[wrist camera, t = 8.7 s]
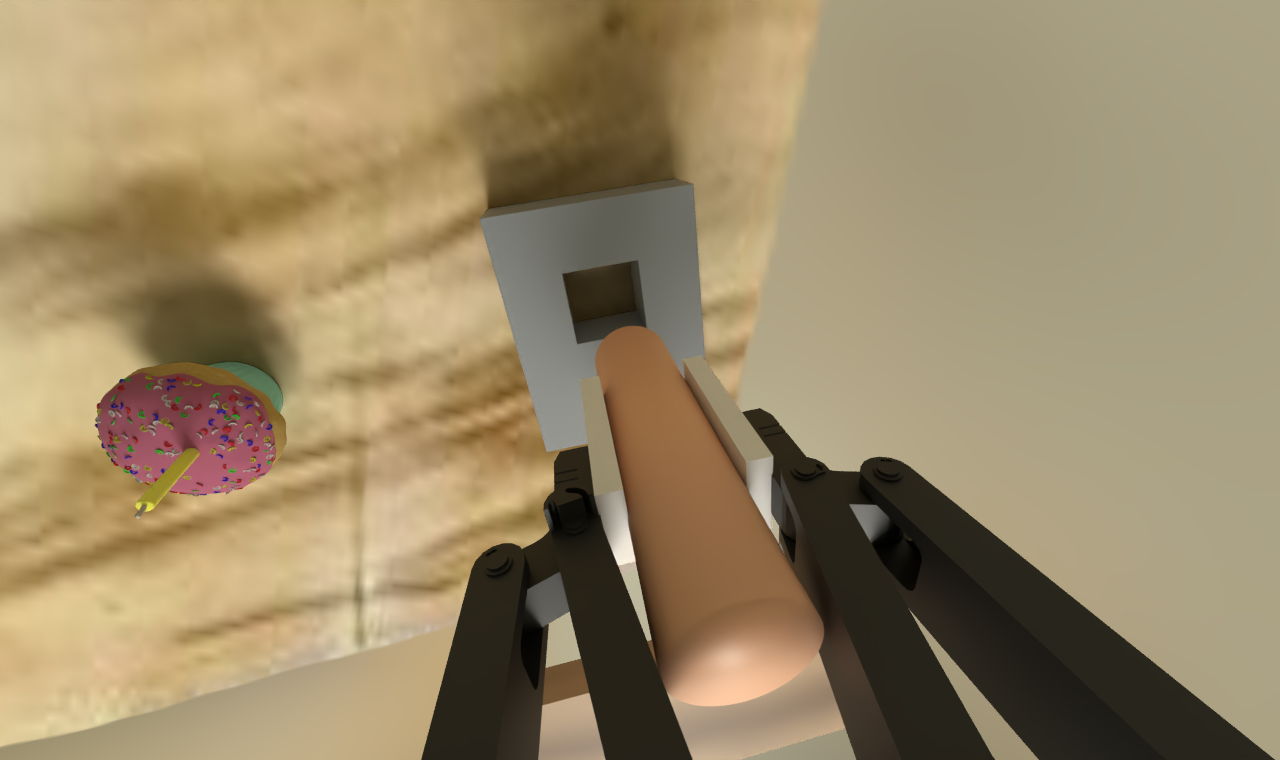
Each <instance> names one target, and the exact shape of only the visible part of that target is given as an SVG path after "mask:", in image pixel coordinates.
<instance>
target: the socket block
mask: <svg viewBox="0 0 1280 760" xmlns="http://www.w3.org/2000/svg"><path fill="white" fill-rule="evenodd" d="M480 222H481V226H482V229H483V233H484V236H485V240H486V243H487V247H488V250H489V254H490V257H491V260H492V264H493V267H494V271H495V274H496V278H497V281H498V285H499V288H500V292H501V295H502V298H503V302H504V305H505V309H506V312H507V316H508V319H509V323H510V326H511V330H512V333H513V337H514V340H515V343H516V347H517V350H518V354H519V357H520V361H521V364H522V368H523V371H524V375H525V378H526V381H527V385H528V388H529V392H530V395H531V399H532V402H533V406H534V409H535V413H536V416H537V419H538V423H539V426H540V430H541V433H542V437H543V440H544V444H545V447H546V451H547V452H550V451H554V450H559V449H564V448H568V447H573V446H577V445H582V444H587V443H588V442H587V434H586V427H585V419H584V411H583V403H582V395H581V387H580V379H585V378H590V377H595V376H597V371H596V366H595V357H596V352H597V349H598V347H599V345H600V344H601V342H602V341H603V340H604V338H605V337H607V336H608V335H609V334H610V333H612V332H613V331H615V330H617V329H619V328H622V327H626V326H641V327H645V328H647V329H650V330H652V331H653V332H655V333H656V334H657V335H658V336H659V337H660V338H661V339H662V341H663V342H664V344H665V346H666V348H667V349H668V351H669V353H670V355H671V356H672V358H673V360H674V362H675V363H676V365H677V367H678V369H679V370H680V372H681V374H682V376H683V377H684V367H683V359H686V358H691V357H696V356H701V355H702V357H703V358H704V360H705V352H704V338H703V323H702V308H701V293H700V278H699V263H698V248H697V233H696V218H695V203H694V188H693V184H692V183H688V182H685V181H682V180H678V179H671V180H665V181H658V182H652V183H646V184H640V185H634V186H628V187H621V188H615V189H609V190H603V191H597V192H590V193H584V194H578V195H572V196H566V197H559V198H553V199H547V200H541V201H535V202H529V203H522V204H516V205H510V206H504V207H498V208H491V209H487V210H486V212H485V213H484V214H483V215H482V216H481V218H480ZM625 262H630V267H631V274H632V282H633V289H634V296H635V303H636V310H637V311H632V312H626V313H621V314H616V315H610V316H605V317H600V318H595V319H589V320H584V321H579V322H574V321H573V317H572V312H571V307H570V303H569V298H568V293H567V289H566V284H565V280H564V275H563V273H569V272H574V271H580V270H586V269H591V268H597V267H603V266H608V265H614V264H619V263H625ZM684 379H685V377H684Z"/></svg>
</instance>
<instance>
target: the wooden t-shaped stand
mask: <svg viewBox="0 0 1280 760" xmlns="http://www.w3.org/2000/svg"><path fill="white" fill-rule="evenodd" d="M647 642H648V645H649V647H650V650H651V653H652V655H653V658H654V660H655V663H656V658H655V653H654V648H653V643H652V640H651V641H647ZM656 666H657V663H656ZM667 694H668V697H669V699H670V702H671V704H672V707H673V710H674V712H675V715H676V717H677V720H678V722H679V725H680V728H681V730H682V733H683V735H684V738H685V741H686V743H687V746H688V748H689V751H690V754H691V756H692V759H693V760H740V759H743V758H747V757H750V756H754V755H757V754H761V753H764V752H767V751H771V750H774V749H778V748H781V747H784V746H787V745H791V744H794V743H798V742H801V741H805V740H808V739H811V738H815V737H818V736H821V735H824V734H828V733H832V732H835V731H838V730H842V729H845V725H844V723H843V720H842V717H841V714H840V711H839V708H838V705H837V703H836V700H835V697H834V694H833V691H832V688H831V685H830V683H829V680H828V677H827V674H826V671H825V668H824V665H823V663H822V660H821V657H820V654H819V651H818V653H817V655H816V656H815V657H814V659H813V660H812V661H811V663H810V664H809V665H808V666H807V667H806V668H805V669H804V670H803V671H802V672H801V673H799V674H798V675H797V676H796V677H794V678H793V679H792V680H790V681H789V682H787V683H786V684H784V685H783V686H781V687H779V688H777V689H775V690H774V691H771V692H769V693H767V694H765V695H762V696H760V697H757V698H755V699H751V700H748V701H745V702H741V703H737V704H731V705H725V706H697V705H692V704H688V703H684V702H682V701H679V700H677V699H675V698H674V697H672V696H671V695H670V694H669V693H668V692H667ZM538 760H605V756H604V751H603V747H602V743H601V739H600V735H599V731H598V727H597V722H596V718H595V714H594V710H593V706H592V702H591V698H590V694H589V689H588V685H587V681H586V677H585V673H584V669H583V665H582V660H581V659H578V660H574V661H571V662H567V663H563V664H560V665H556V666H552V667H548V668H545V679H544V692H543V705H542V718H541V731H540V744H539V757H538Z"/></svg>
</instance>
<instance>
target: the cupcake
mask: <svg viewBox="0 0 1280 760" xmlns="http://www.w3.org/2000/svg"><path fill="white" fill-rule="evenodd" d="M282 404H283V397H282V393H281V390H280V388H279V387H278V385H277V384H276V382H275V381H274V380H273V379H272V378H271V377H270V376H269V375H267V374H266V373H264V372H263V371H261V370H260V369H258V368H255V367H253V366H250V365H247V364H244V363H238V362H222V363H216V364H212V365H208V366H205V365H201V364H196V363H191V362H176V363H169V364H163V365H158V366H154V367H147V368H142V369H139V370H137V371H135V372H133V373H132V374H131V375H129V376H128V377H126V378H125V379H120V381H119V383H117V384H116V385H115V386H114V387H113V388H112V389H111V390H110V391H109V392H107V393H106V394H105V395H104V397H103V398H102V400H101V402H100V403H98V404H97V409H98V410H97V413H98V417H96V419H95V420H96V422H97V424H95V426H96V427H97V428H98V431H99V435H100V436H99V435H98V438H99V439H100V440H101V441H102V444H101V445H102V448H105V449H106V450H107V452H106V454H107V455H108V456H109V457H111V461H112V462H113V463H114V465H115V466H118V465H119V466H121V467H122V468H123V469H124V472H126V473H130V474H131V475H132V476H133V477H135V478H136V481H137V482H138V483H141V482H142V481H144V482H145V483H146V484H147V485H152V486H151V487H150V488H149V489H148V491H147V492H146V493H145V494H144V495H143V496H142V497H141V498H140V499H139V500H138V501H137V503H136V505H135V506H136V508H137V509H138V510H139V511H138V512H137V513H136V514H135V518H140V517H141V515H142V514H143V513H144V512H145V511H150V510H152V509H153V508H154V507H155V506H156V505H157V504H158V502H159V501H160V500H161V499H162V498H163V497H164V495H165V494H166V493H167V492H168V491H169V490H170V492H172V493H178V492H179V493H180V494H186V495H193V496H199V494H200V495H207V494H211V493H222V492H227V493H226V495H228V494H229V493H230V491H233V490H237V489H242V488H243V487H245V486H246V485H248V484H250V483H252V482H254V481H255V480H257V479H259V478H260V477H262V476H265V474H266V473H267V472H268V471H269V470H270V469H271V467H272V465H273V464H274V463H275V462H276V461H277V460H278V458H279V457H280V455H281V454H282V452H283V450H284V448H285V445H286V441H287V438H286V423H285V419H284V418H283V416H282V415H281V414H280V411H281V408H282ZM103 445H104V446H103ZM113 460H114V461H113ZM116 463H117V464H116ZM138 480H140V481H138ZM173 491H174V492H173ZM195 494H196V495H195Z"/></svg>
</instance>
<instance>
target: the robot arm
mask: <svg viewBox="0 0 1280 760" xmlns="http://www.w3.org/2000/svg"><path fill="white" fill-rule="evenodd" d="M683 367H684V377H685V381H686V383H687V384H688V386H689V388H690V390H691V391H692V393H693V395H694V397H695V398H696V400H697V402H698V404H699V405H700V407H701V409H702V411H703V412H704V414H705V416H706V418H707V419H708V421H709V423H710V425H711V426H712V428H713V430H714V432H715V433H716V435H717V437H718V439H719V440H720V442H721V444H722V446H723V447H724V449H725V451H726V453H727V454H728V456H729V458H730V460H731V462H732V463H733V465H734V467H735V469H736V470H737V472H738V474H739V476H740V477H741V479H742V481H743V483H744V484H745V486H746V488H747V490H748V491H749V493H750V495H751V497H752V498H753V500H754V502H755V504H756V505H757V507H758V509H759V511H760V512H761V514H762V516H763V518H764V519H765V521H766V523H767V525H768V526H769V528H770V529H772V515H773V517H774V518H775V520H776V522H777V523H778V525H779V546H780V547H781V549H782V551H784V554H785V556H786V558H787V560H788V561H789V563H790V565H791V567H792V568H793V570H794V572H795V574H796V575H797V577H798V579H799V581H800V582H801V584H802V586H803V588H804V589H805V591H806V593H807V595H808V596H809V598H810V600H811V602H812V603H813V605H814V607H815V609H816V610H817V612H818V614H819V616H820V617H821V620H822V622H823V626H824V637H823V642H822V644H821V647H820V649H819V654H820V657H821V660H822V663H823V665H824V668H825V671H826V674H827V677H828V680H829V683H830V685H831V688H832V691H833V694H834V697H835V700H836V703H837V705H838V708H839V711H840V714H841V717H842V720H843V723H844V725H845V728H846V731H847V734H848V737H849V739H850V743H851V745H852V748H853V751H854V754H855V757H856V760H995V759H994V758H993V756H992V755H991V753H990V751H989V749H988V747H987V746H986V744H985V742H984V741H983V739H982V737H981V735H980V733H979V732H978V730H977V728H976V726H975V725H974V723H973V721H972V719H971V718H970V716H969V714H968V713H967V711H966V709H965V707H964V705H963V704H962V702H961V700H960V698H959V697H958V695H957V693H956V691H955V690H954V688H953V686H952V684H951V683H950V681H949V679H948V677H947V676H946V674H945V672H944V670H943V669H942V667H941V665H940V663H939V661H938V660H937V658H936V656H935V654H934V653H933V651H932V649H931V647H930V646H929V644H928V642H927V640H926V639H925V637H924V635H923V634H922V632H921V630H920V628H919V626H918V624H917V623H916V621H915V619H914V617H913V616H912V614H911V612H912V613H913V614H914V615H915V616H916V617H917V618H918V620H919V621H920V622H921V623H922V624H923V626H924V627H925V628H926V629H927V630H928V631H929V632H930V634H931V635H932V636H933V637H934V638H935V639H936V641H937V642H938V643H939V644H940V645H941V647H942V648H943V649H944V650H945V651H946V652H947V653H948V654H949V656H950V657H951V658H952V659H953V660H954V662H955V663H956V664H957V665H958V666H959V667H960V669H962V671H963V672H964V673H965V674H966V675H967V676H968V678H969V679H970V680H971V681H972V682H973V684H974V685H975V686H976V687H977V688H978V690H979V691H980V692H981V693H982V694H983V695H984V696H985V698H986V699H987V700H988V701H989V702H990V703H991V705H992V706H993V707H994V708H995V709H996V710H997V712H998V713H999V714H1000V715H1001V716H1002V717H1003V719H1004V720H1005V721H1006V722H1007V723H1008V724H1009V726H1010V727H1011V728H1012V729H1013V730H1014V731H1015V733H1016V734H1017V735H1018V736H1019V737H1020V738H1021V739H1022V741H1023V742H1024V743H1025V744H1026V745H1027V746H1028V748H1029V749H1030V750H1031V751H1032V752H1033V753H1034V755H1035V756H1036V757H1037V758H1038V759H1039V760H1275V759H1273V758H1272V757H1271V756H1270V755H1268V754H1267V753H1266V752H1265V751H1263V750H1262V749H1261V748H1260V747H1258V746H1257V745H1256V744H1254V743H1253V742H1252V741H1251V740H1249V739H1248V738H1247V737H1246V736H1245V735H1243V734H1242V733H1241V732H1240V731H1238V730H1237V729H1236V728H1235V727H1233V726H1232V725H1231V724H1230V723H1228V722H1227V721H1226V720H1225V719H1223V718H1222V717H1221V716H1220V715H1218V714H1217V713H1216V712H1215V711H1213V710H1212V709H1211V708H1210V707H1208V706H1207V705H1206V704H1204V703H1203V702H1202V701H1201V700H1200V699H1199V698H1197V697H1196V696H1195V695H1194V694H1192V693H1191V692H1190V691H1189V690H1187V689H1186V688H1185V687H1183V686H1182V685H1181V684H1180V683H1178V682H1177V681H1176V680H1175V679H1173V678H1172V677H1171V676H1170V675H1169V674H1167V673H1166V672H1165V671H1164V670H1162V669H1161V668H1160V667H1158V666H1157V665H1156V664H1155V663H1153V662H1152V661H1151V660H1150V659H1149V658H1147V657H1146V656H1145V655H1144V654H1142V653H1141V652H1140V651H1139V650H1137V649H1136V648H1135V647H1134V646H1132V645H1131V644H1130V643H1129V642H1127V641H1126V640H1125V639H1124V638H1122V637H1121V636H1120V635H1119V634H1117V633H1116V632H1115V631H1114V630H1112V629H1111V628H1110V627H1109V626H1107V625H1106V624H1105V623H1104V622H1103V621H1101V620H1100V619H1099V618H1098V617H1096V616H1095V615H1094V614H1093V613H1091V612H1090V611H1089V610H1088V609H1086V608H1085V607H1084V606H1083V605H1081V604H1080V603H1079V602H1078V601H1076V600H1075V599H1074V598H1073V597H1071V596H1070V595H1069V594H1067V593H1066V592H1065V591H1064V590H1063V589H1061V588H1060V587H1059V586H1058V585H1056V584H1055V583H1054V582H1053V581H1051V580H1050V579H1049V578H1048V577H1046V576H1045V575H1044V574H1042V573H1041V572H1040V571H1039V570H1038V569H1036V568H1035V567H1034V566H1033V565H1031V564H1030V563H1029V562H1028V561H1026V560H1025V559H1024V558H1023V557H1021V556H1020V555H1019V554H1018V553H1017V552H1015V551H1014V550H1013V549H1011V548H1010V547H1009V546H1008V545H1006V544H1005V543H1004V542H1003V541H1002V540H1000V539H999V538H998V537H997V536H995V535H994V534H993V533H992V532H990V531H989V530H988V529H987V528H985V527H984V526H983V525H982V524H980V523H979V522H978V521H977V520H975V519H974V518H973V517H972V516H970V515H969V514H968V513H967V512H965V511H964V510H962V508H960V507H959V506H958V505H957V504H955V503H954V502H953V501H952V500H950V499H949V498H948V497H947V496H945V495H944V494H943V493H942V492H940V491H939V490H938V489H937V488H935V487H934V486H933V485H932V484H930V483H929V482H928V481H927V480H925V479H924V478H923V477H922V476H921V475H919V474H918V473H917V472H915V471H914V470H913V469H911V467H909V466H908V465H906V464H904V463H903V462H901V461H898V460H895V459H892V458H886V457H875V458H870V459H868V460H866V461H864V463H863V464H862V466H861V468H860V472H846V471H845V472H844V471H832V470H829V469H828V467H827V466H826V465H825V464H824V463H822V462H820V461H818V460H816V459H812V458H809V457H806V456H805V455H804V454H803V452H802V451H801V450H800V448H799V447H798V446H797V445H796V444H795V442H794V441H793V440H792V439H791V438H790V436H789V435H788V434H787V433H786V432H785V430H784V429H783V428H782V426H780V425H779V423H778V422H777V420H776V419H775V418H774V417H773V415H771V414H770V413H768V412H766V411H764V410H762V409H760V408H759V409H755V410H749V411H745V412H741V410H740V409H739V407H738V406H737V405H736V403H735V402H734V400H733V399H732V398H731V396H730V395H729V393H728V392H727V391H726V389H725V388H724V386H723V385H722V384H721V382H720V381H719V379H718V378H717V376H716V375H715V374H714V372H713V371H712V369H711V368H710V367H709V365H708V364H707V362H706V361H705V360H704V358H703V357H702V355H701V356H696V357H691V358H686V359H683ZM580 387H581V395H582V403H583V411H584V419H585V427H586V434H587V442H588V446H585V447H580V448H575V449H571V450H566V451H561V452H560V453H559V455H558V456H557V458H556V460H555V462H554V475H555V476H554V483H555V485H554V492H553V493H551V494H550V495H549V496H548V497H547V499H546V501H545V503H544V513H545V517H546V520H547V523H548V526H549V529H550V530H549V532H548V533H547V534H546V535H545V536H544V537H543V538H541V539H540V540H538V541H537V542H535V543H533V544H531V545H529V546H527V547H525V548H523V549H521V548H520V546H517V545H515V544H512V543H503V544H500V545H496V546H493V547H491V548H490V549H488V550H487V551H485V552H483V553H482V555H481V556H480V557H479V558H478V559H477V560H476V561H475V563H474V566H473V568H472V570H471V574H470V578H469V582H468V585H467V589H466V593H465V597H464V600H463V604H462V608H461V612H460V616H459V619H458V623H457V627H456V631H455V634H454V638H453V642H452V646H451V650H450V654H449V657H448V661H447V665H446V668H445V673H444V676H443V680H442V684H441V687H440V691H439V695H438V699H437V702H436V706H435V710H434V714H433V718H432V721H431V725H430V729H429V733H428V736H427V740H426V744H425V748H424V752H423V755H422V759H421V760H538V757H539V744H540V731H541V718H542V705H543V692H544V679H545V666H546V651H547V639H548V626H549V623H550V622H552V621H554V620H555V619H557V618H559V617H561V616H562V615H564V614H565V613H567V612H569V611H570V615H571V618H572V623H573V627H574V631H575V635H576V639H577V644H578V648H579V652H580V656H581V660H582V665H583V669H584V673H585V677H586V681H587V685H588V689H589V694H590V698H591V702H592V706H593V710H594V714H595V718H596V722H597V727H598V731H599V735H600V739H601V743H602V747H603V751H604V756H605V760H693V759H692V756H691V754H690V751H689V748H688V746H687V743H686V741H685V738H684V735H683V733H682V730H681V728H680V725H679V722H678V720H677V717H676V715H675V712H674V710H673V707H672V704H671V702H670V699H669V697H668V694H667V691H666V689H665V686H664V684H663V681H662V678H661V676H660V673H659V671H658V668H657V666H656V663H655V660H654V658H653V655H652V653H651V650H650V647H649V645H648V642H647V640H646V637H645V634H644V632H643V629H642V627H641V624H640V622H639V619H638V616H637V614H636V611H635V609H634V606H633V604H632V601H631V598H630V596H629V593H628V590H627V588H626V585H625V583H624V580H623V578H622V575H621V572H620V570H619V567H618V565H622V564H627V563H631V562H635V556H634V551H633V546H632V541H631V536H630V532H629V526H628V511H627V506H626V501H625V496H624V491H623V486H622V482H621V477H620V472H619V467H618V463H617V458H616V453H615V449H614V444H613V439H612V434H611V430H610V425H609V420H608V416H607V411H606V406H605V402H604V397H603V392H602V387H601V383H600V378H599V376H595V377H590V378H585V379H580ZM908 608H909V609H910V610H909V609H908ZM910 611H911V612H910Z"/></svg>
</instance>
